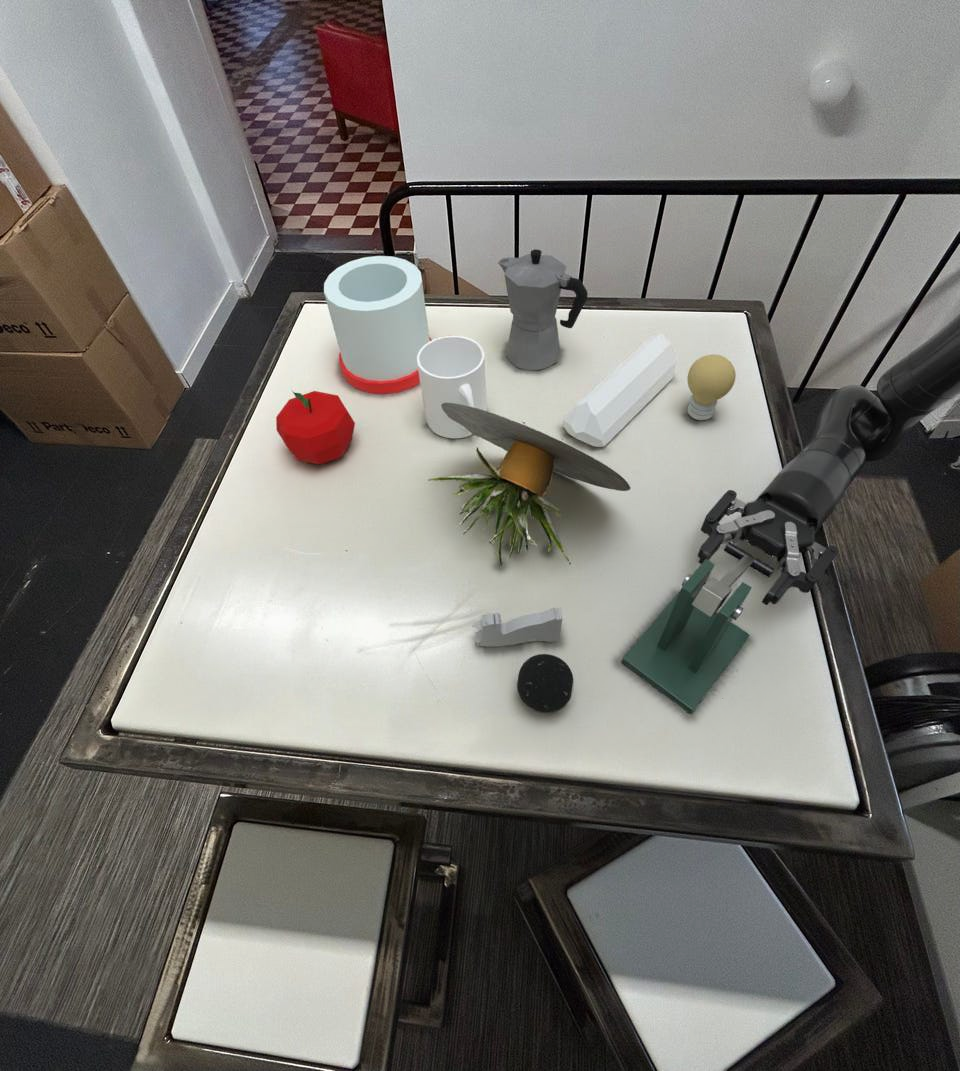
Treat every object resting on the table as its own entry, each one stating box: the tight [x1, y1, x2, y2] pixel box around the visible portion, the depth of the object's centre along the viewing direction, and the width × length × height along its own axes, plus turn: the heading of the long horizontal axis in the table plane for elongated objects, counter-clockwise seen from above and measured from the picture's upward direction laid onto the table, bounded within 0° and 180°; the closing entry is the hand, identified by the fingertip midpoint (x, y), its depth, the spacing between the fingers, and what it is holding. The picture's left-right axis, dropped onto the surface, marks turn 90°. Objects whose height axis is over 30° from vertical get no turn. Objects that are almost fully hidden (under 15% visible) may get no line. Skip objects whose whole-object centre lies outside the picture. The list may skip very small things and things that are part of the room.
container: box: [323, 255, 433, 395], centre depth 97 cm, size 16×16×15 cm
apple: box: [275, 390, 356, 465], centre depth 88 cm, size 11×11×10 cm
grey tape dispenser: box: [471, 607, 564, 648], centre depth 69 cm, size 6×1×10 cm
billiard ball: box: [516, 653, 575, 714], centre depth 65 cm, size 6×6×6 cm
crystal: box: [562, 333, 678, 448], centre depth 93 cm, size 7×7×24 cm
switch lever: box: [692, 542, 776, 617], centre depth 64 cm, size 13×6×2 cm, turn 137°
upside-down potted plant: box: [427, 403, 631, 567], centre depth 76 cm, size 25×18×25 cm
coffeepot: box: [497, 248, 589, 372], centre depth 95 cm, size 15×9×18 cm, turn 55°
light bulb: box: [686, 353, 736, 421], centre depth 89 cm, size 6×6×10 cm
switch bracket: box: [621, 559, 753, 715], centre depth 64 cm, size 12×9×14 cm
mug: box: [417, 335, 488, 439], centre depth 89 cm, size 10×12×12 cm
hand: (733, 579), depth 68 cm, fingers open, 7 cm apart
